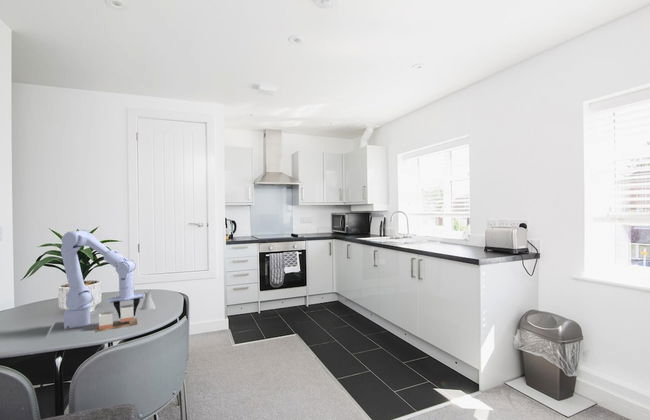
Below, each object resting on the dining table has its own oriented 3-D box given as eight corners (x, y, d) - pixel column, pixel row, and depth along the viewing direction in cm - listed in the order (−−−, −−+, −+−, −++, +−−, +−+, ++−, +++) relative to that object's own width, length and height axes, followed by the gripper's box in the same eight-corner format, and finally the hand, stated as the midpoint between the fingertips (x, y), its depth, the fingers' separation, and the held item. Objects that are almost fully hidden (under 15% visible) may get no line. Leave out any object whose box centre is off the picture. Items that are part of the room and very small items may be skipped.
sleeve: (120, 322, 147) (120, 308, 147) (120, 318, 151) (120, 306, 151) (133, 320, 149) (133, 306, 149) (133, 316, 154) (132, 304, 154)
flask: (149, 313, 168) (149, 293, 168) (137, 312, 170) (136, 293, 170) (159, 308, 175) (158, 290, 175) (147, 308, 177) (147, 289, 177)
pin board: (94, 335, 140) (94, 322, 140) (95, 328, 148) (95, 316, 148) (137, 327, 148) (137, 315, 148) (136, 321, 157) (136, 309, 157)
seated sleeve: (99, 329, 143) (98, 315, 142) (99, 325, 147) (99, 312, 147) (112, 327, 145) (112, 313, 145) (112, 323, 149) (112, 310, 149)
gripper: (107, 291, 143) (107, 322, 143) (145, 286, 150) (145, 315, 151) (107, 287, 149) (108, 317, 149) (144, 283, 156) (144, 311, 157)
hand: (127, 316), depth 150 cm, fingers closed on sleeve, 5 cm apart
